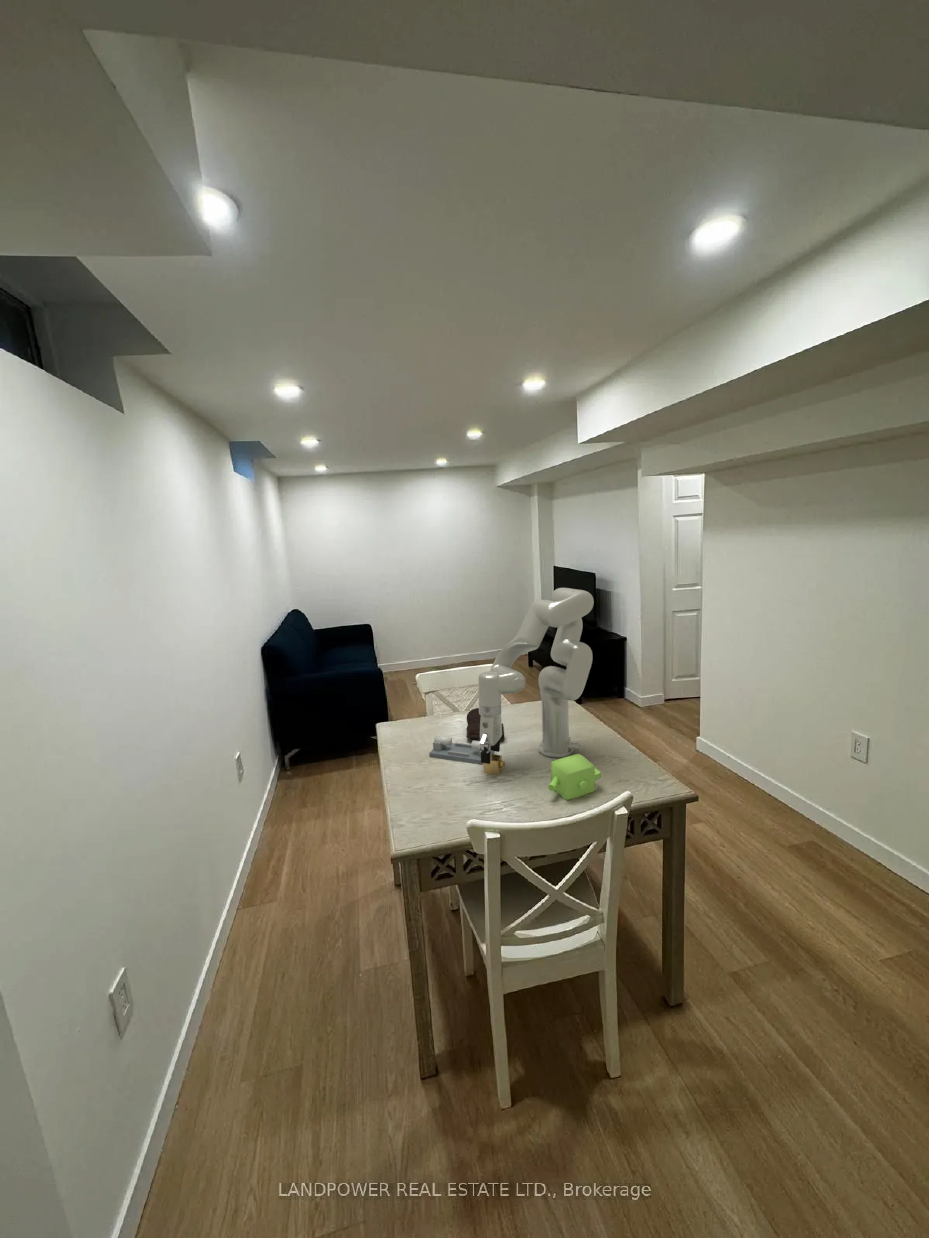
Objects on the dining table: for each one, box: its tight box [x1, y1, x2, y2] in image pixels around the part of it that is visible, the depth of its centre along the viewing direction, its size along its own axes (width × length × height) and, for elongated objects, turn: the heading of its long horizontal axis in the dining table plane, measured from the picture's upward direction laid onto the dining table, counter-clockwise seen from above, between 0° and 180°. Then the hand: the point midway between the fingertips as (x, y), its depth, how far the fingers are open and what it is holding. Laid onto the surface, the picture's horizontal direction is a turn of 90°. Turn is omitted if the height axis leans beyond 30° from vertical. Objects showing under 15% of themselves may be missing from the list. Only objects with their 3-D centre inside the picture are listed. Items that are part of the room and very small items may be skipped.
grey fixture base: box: [428, 735, 496, 765], centre depth 180 cm, size 22×10×6 cm, turn 68°
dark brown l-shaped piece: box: [465, 707, 505, 741], centre depth 195 cm, size 10×15×15 cm
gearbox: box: [548, 753, 602, 801], centre depth 152 cm, size 18×10×10 cm, turn 113°
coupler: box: [481, 753, 506, 776], centre depth 168 cm, size 7×4×5 cm, turn 68°
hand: (490, 756), depth 167 cm, fingers open, 9 cm apart
